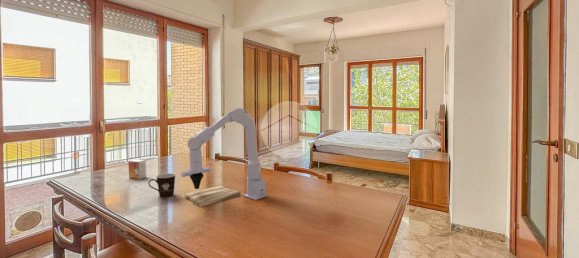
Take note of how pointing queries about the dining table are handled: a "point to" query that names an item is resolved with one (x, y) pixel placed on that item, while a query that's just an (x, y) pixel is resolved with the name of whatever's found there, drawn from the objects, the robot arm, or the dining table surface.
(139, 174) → the small box
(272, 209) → the dining table surface
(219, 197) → the laid boards
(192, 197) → the plank
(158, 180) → the coffee mug
